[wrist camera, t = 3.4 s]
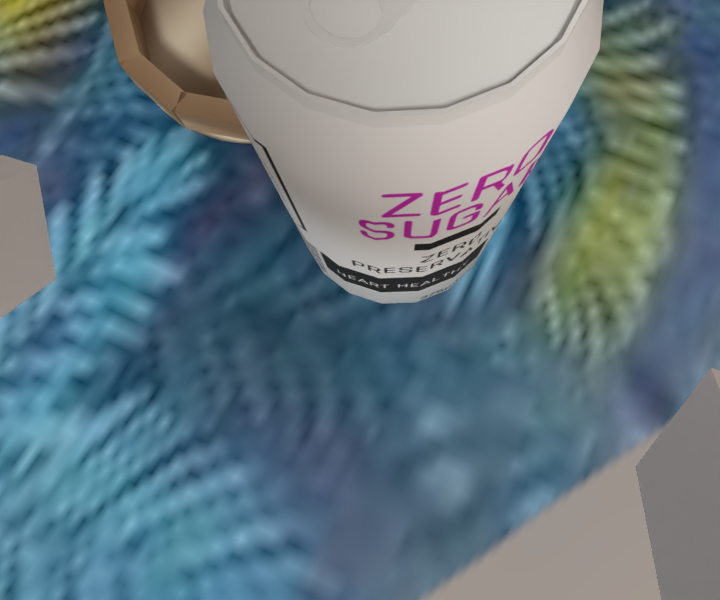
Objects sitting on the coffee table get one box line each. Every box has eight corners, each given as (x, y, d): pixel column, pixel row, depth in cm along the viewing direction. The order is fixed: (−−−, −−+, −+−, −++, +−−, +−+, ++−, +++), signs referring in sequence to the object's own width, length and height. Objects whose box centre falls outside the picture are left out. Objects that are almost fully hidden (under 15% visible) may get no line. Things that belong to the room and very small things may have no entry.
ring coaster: (95, 117, 26) (70, 93, 24) (170, -111, 28) (153, -151, 26) (361, 166, 25) (358, 145, 23) (418, -76, 27) (420, -115, 25)
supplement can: (378, 98, 26) (363, -311, 11) (525, 201, 24) (731, -108, 10) (267, 231, 25) (85, -20, 10) (412, 344, 23) (450, 247, 9)
